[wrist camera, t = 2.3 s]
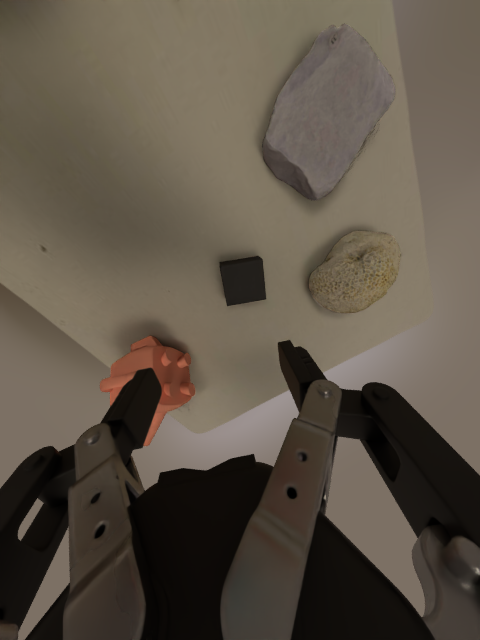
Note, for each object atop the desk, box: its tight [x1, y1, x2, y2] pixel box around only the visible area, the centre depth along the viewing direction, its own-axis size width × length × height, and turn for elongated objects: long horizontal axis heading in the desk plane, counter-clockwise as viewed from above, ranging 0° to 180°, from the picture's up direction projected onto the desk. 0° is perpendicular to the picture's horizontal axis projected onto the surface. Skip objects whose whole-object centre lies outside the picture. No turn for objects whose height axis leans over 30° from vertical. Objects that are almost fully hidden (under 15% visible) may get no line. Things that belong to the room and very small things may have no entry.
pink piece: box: [100, 336, 195, 446], centre depth 28 cm, size 12×12×10 cm
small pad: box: [220, 256, 266, 306], centre depth 27 cm, size 6×6×3 cm
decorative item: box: [309, 231, 401, 313], centre depth 27 cm, size 12×9×10 cm
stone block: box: [262, 23, 395, 201], centre depth 21 cm, size 12×5×10 cm
